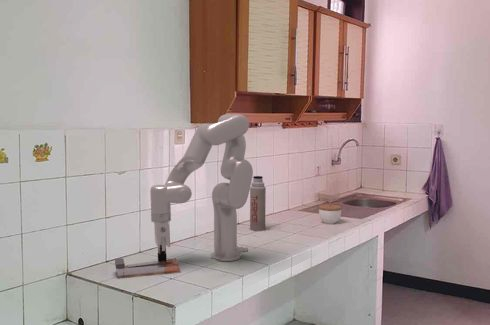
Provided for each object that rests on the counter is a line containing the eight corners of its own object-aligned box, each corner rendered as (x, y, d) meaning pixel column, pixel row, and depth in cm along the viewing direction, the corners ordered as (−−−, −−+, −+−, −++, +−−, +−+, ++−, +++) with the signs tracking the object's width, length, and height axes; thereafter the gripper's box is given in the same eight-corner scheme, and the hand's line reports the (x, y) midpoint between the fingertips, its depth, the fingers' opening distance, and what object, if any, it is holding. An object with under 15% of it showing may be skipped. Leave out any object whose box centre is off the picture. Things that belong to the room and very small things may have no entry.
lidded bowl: (314, 221, 282) (314, 202, 281) (332, 219, 287) (332, 200, 286) (326, 225, 271) (327, 205, 270) (345, 223, 276) (346, 204, 275)
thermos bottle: (257, 231, 256) (258, 177, 253) (246, 229, 262) (247, 176, 259) (268, 229, 262) (268, 176, 259) (257, 226, 267) (257, 175, 265)
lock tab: (123, 262, 188) (123, 258, 187) (124, 268, 181) (124, 263, 180) (114, 263, 187) (114, 258, 186) (116, 268, 180) (116, 264, 179)
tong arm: (175, 264, 196) (175, 258, 196) (178, 266, 193) (178, 260, 193) (127, 270, 188) (126, 264, 188) (128, 272, 185) (128, 266, 185)
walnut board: (174, 264, 200) (174, 261, 200) (181, 275, 186) (181, 272, 186) (115, 269, 193) (115, 266, 193) (118, 281, 179) (117, 278, 179)
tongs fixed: (174, 266, 194) (174, 258, 194) (178, 271, 187) (178, 263, 187) (116, 271, 187) (116, 263, 187) (117, 277, 181) (117, 269, 180)
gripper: (173, 220, 187) (174, 267, 189) (167, 212, 202) (169, 256, 204) (153, 221, 185) (154, 269, 187) (149, 213, 199) (150, 258, 201)
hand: (162, 263), depth 195 cm, fingers closed
